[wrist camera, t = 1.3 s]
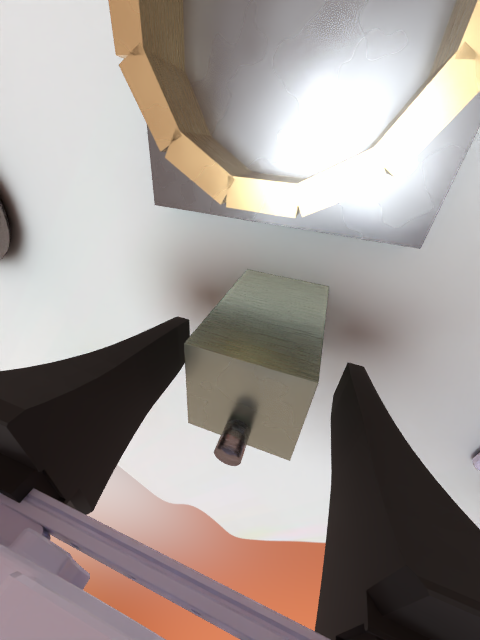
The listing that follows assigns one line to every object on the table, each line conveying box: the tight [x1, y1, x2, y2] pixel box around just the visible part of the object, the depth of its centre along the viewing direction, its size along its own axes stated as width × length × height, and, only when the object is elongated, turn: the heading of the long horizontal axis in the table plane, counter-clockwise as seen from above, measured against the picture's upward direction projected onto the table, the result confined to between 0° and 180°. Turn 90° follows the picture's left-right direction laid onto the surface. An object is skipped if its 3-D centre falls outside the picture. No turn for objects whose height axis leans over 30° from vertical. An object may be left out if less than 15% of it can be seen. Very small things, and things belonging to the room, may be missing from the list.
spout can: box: [184, 269, 329, 466], centre depth 12 cm, size 4×4×8 cm
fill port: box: [108, 0, 480, 249], centre depth 7 cm, size 12×12×4 cm
